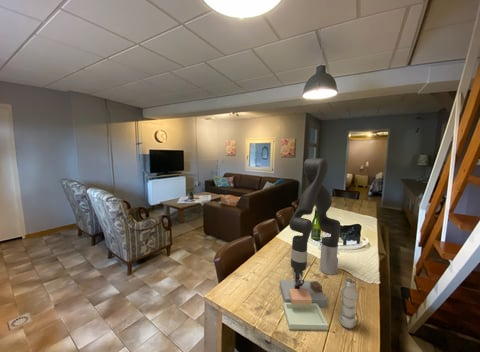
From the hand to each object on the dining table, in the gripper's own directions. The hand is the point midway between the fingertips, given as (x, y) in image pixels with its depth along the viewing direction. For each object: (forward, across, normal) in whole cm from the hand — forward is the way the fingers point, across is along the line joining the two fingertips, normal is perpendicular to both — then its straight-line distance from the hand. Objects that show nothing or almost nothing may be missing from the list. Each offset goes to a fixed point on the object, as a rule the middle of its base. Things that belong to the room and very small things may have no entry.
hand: (296, 290), depth 98 cm
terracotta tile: (+1, -5, 0) cm, 5 cm away
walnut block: (+1, +2, -10) cm, 11 cm away
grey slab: (+5, +2, -3) cm, 6 cm away
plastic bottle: (+5, -13, -18) cm, 23 cm away
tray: (+5, -11, 0) cm, 12 cm away
